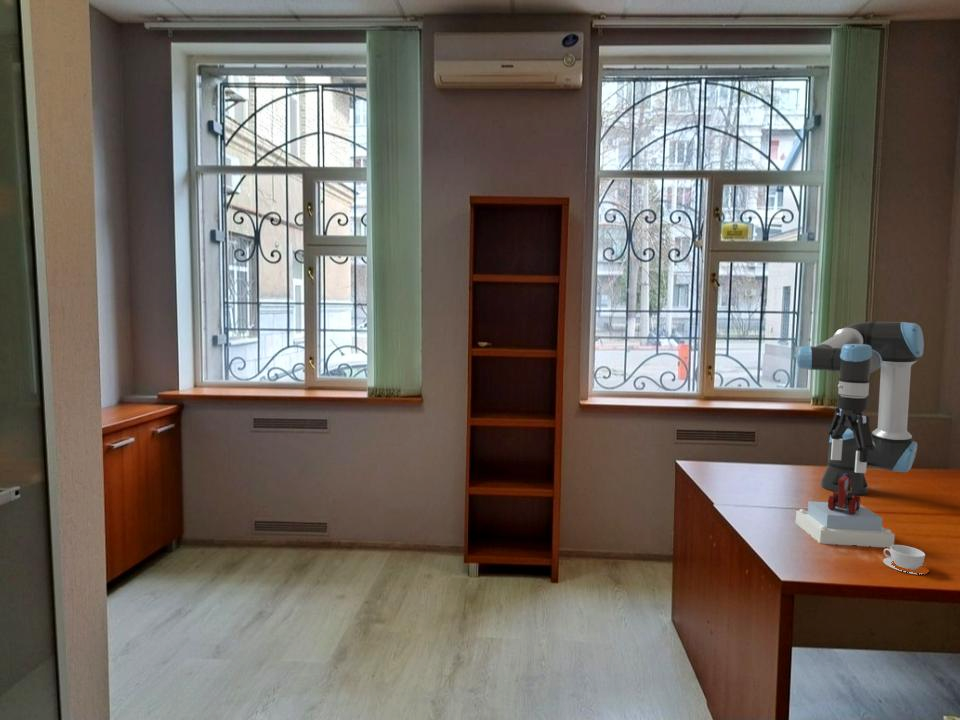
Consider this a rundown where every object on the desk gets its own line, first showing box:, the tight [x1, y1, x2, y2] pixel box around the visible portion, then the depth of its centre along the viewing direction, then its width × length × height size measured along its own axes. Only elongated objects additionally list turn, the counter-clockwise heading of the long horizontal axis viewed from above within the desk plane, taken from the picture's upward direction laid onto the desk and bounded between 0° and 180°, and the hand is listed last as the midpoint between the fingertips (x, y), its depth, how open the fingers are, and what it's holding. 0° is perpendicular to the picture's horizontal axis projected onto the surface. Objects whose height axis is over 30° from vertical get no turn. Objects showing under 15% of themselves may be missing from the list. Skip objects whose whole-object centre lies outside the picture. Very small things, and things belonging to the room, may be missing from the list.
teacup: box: [882, 544, 926, 576], centre depth 149 cm, size 10×10×5 cm
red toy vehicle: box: [827, 473, 861, 514], centre depth 169 cm, size 7×12×10 cm, turn 137°
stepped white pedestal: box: [795, 500, 896, 549], centre depth 170 cm, size 20×16×8 cm
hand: (847, 466), depth 168 cm, fingers open, 13 cm apart
